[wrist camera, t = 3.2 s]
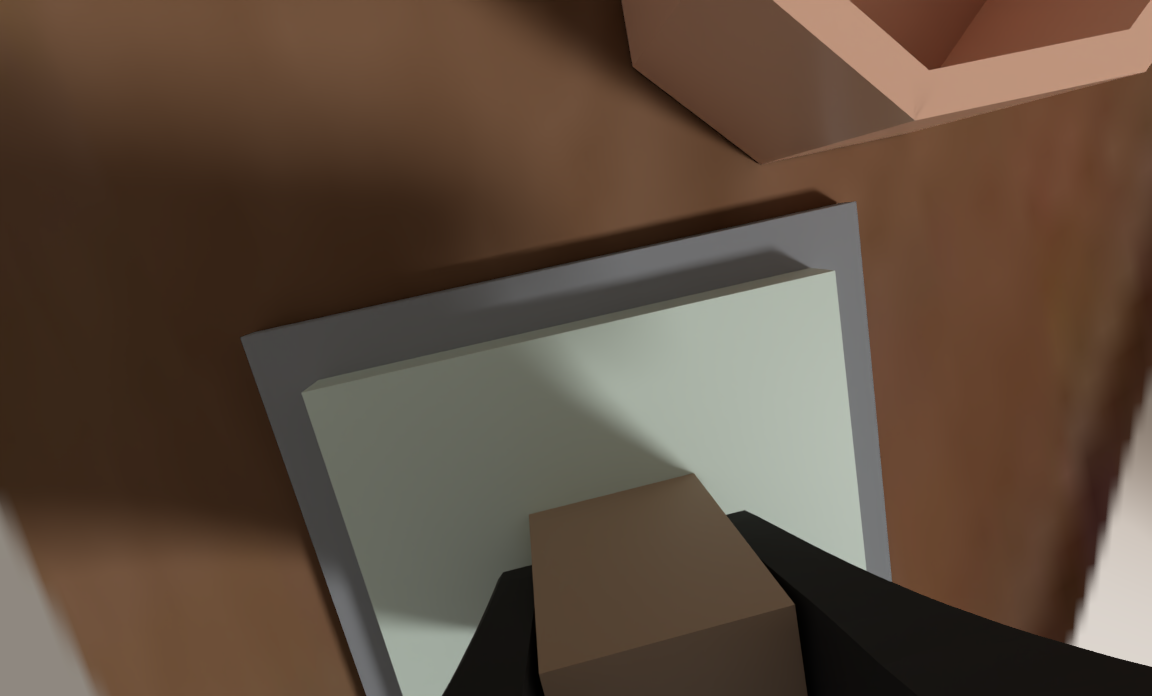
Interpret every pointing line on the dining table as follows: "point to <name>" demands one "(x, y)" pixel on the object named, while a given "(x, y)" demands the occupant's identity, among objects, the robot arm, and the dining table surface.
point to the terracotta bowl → (874, 62)
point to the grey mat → (532, 304)
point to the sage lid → (605, 488)
